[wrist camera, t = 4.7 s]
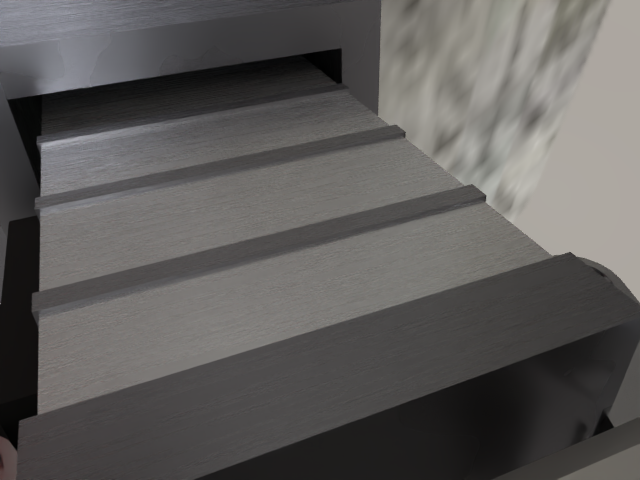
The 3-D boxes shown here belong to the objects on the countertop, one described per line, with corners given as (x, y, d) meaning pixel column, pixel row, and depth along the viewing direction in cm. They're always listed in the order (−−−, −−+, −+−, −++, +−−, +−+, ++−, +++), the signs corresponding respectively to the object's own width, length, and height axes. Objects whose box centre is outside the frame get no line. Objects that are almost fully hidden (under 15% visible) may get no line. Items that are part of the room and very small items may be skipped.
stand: (336, -233, 18) (627, -316, 9) (341, 193, 28) (488, 364, 18) (-269, -233, 14) (-904, -400, 5) (-20, 278, 23) (-63, 562, 14)
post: (213, -22, 18) (650, 313, 5) (233, 130, 21) (538, 585, 8) (38, -2, 16) (11, 545, 4) (86, 158, 20) (168, 772, 7)
